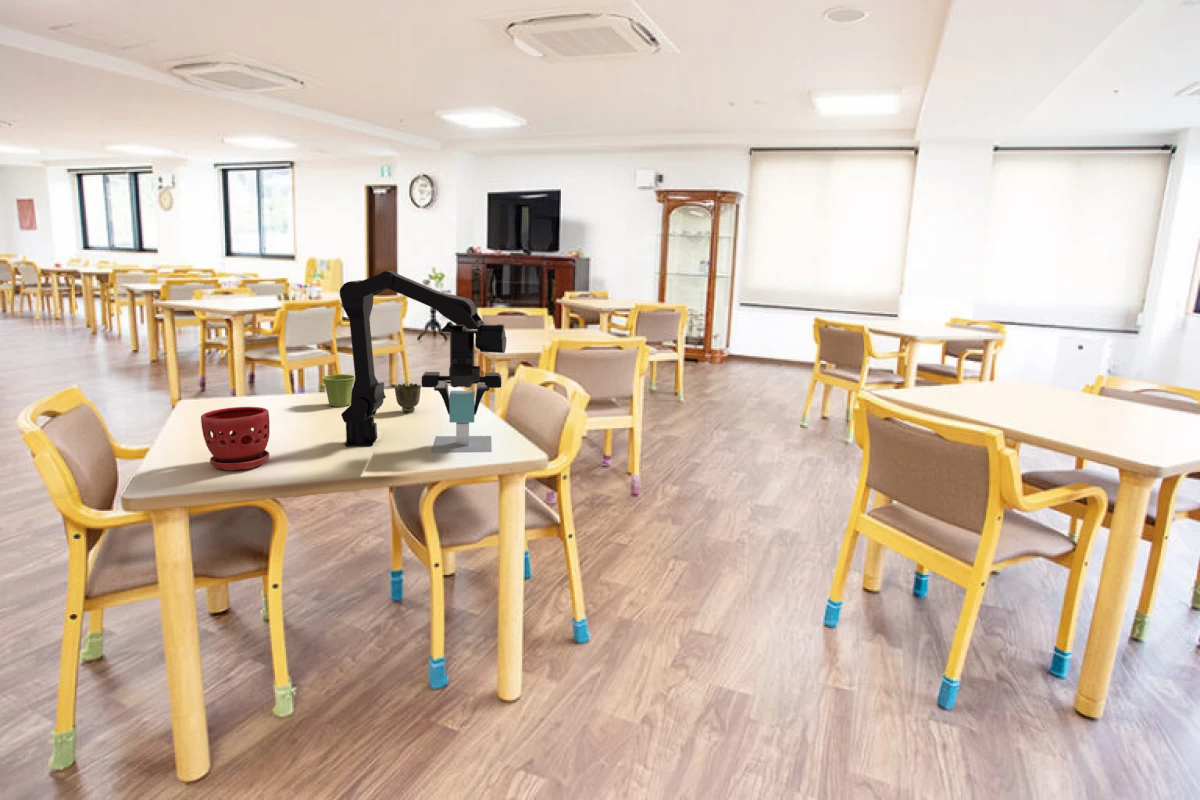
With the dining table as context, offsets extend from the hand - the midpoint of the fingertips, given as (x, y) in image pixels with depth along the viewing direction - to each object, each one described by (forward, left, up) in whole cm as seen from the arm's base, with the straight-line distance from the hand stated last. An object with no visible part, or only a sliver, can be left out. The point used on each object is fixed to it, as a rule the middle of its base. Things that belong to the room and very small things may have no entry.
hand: (462, 414), depth 168 cm
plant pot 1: (-48, -11, -9) cm, 50 cm away
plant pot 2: (-38, +46, -9) cm, 60 cm away
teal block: (0, 0, -1) cm, 1 cm away
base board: (0, 0, -8) cm, 9 cm away
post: (0, 0, -8) cm, 8 cm away
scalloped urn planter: (-17, +37, -9) cm, 42 cm away
